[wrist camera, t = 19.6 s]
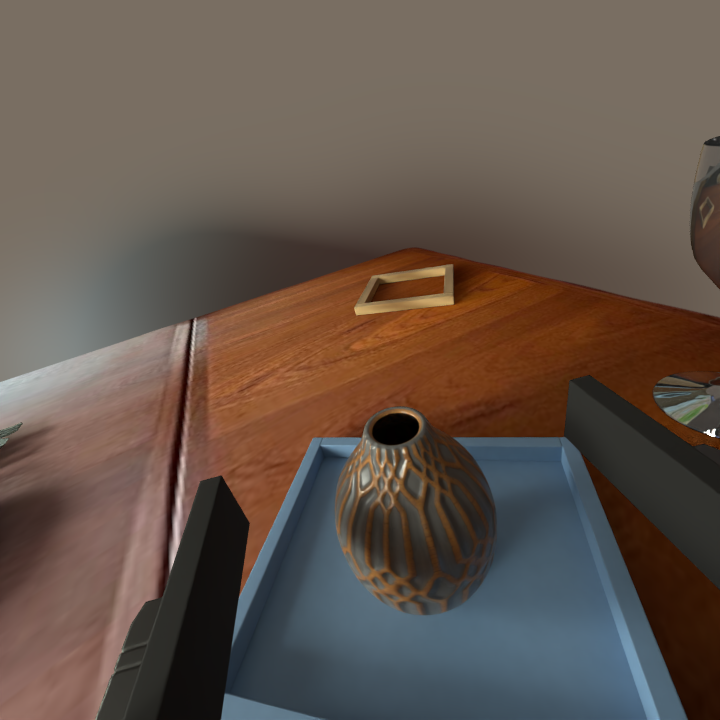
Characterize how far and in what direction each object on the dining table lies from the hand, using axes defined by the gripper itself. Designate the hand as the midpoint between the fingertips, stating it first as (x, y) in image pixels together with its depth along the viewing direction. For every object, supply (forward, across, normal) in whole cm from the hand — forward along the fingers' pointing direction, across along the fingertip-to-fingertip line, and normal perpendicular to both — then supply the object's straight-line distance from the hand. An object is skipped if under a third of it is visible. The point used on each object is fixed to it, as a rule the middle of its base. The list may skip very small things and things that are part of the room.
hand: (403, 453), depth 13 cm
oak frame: (+38, +10, -8) cm, 41 cm away
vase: (0, 0, -8) cm, 8 cm away
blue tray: (0, 0, -8) cm, 8 cm away
